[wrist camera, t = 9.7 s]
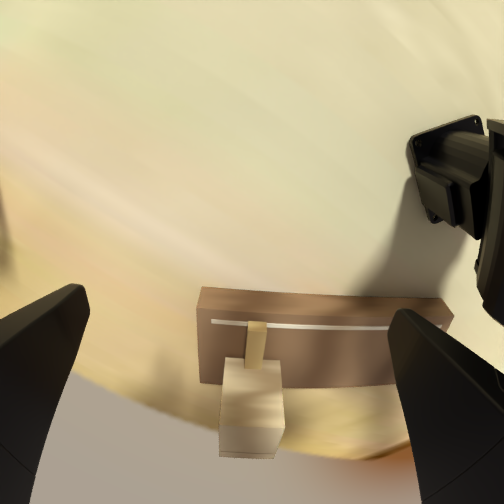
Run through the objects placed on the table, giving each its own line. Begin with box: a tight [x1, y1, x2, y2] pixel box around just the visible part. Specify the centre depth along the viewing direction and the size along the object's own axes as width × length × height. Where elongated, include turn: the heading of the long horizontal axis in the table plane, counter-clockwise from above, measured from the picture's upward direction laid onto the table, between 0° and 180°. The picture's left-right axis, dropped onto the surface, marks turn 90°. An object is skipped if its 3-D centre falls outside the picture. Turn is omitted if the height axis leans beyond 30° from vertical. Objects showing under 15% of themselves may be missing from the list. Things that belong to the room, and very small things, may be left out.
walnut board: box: [197, 287, 454, 388], centre depth 23 cm, size 20×8×3 cm, turn 85°
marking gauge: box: [219, 321, 285, 459], centre depth 20 cm, size 4×9×8 cm, turn 175°
